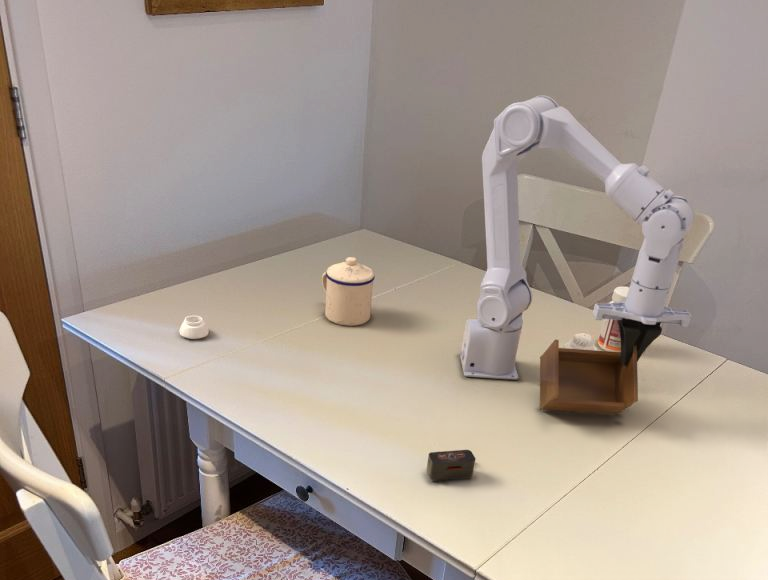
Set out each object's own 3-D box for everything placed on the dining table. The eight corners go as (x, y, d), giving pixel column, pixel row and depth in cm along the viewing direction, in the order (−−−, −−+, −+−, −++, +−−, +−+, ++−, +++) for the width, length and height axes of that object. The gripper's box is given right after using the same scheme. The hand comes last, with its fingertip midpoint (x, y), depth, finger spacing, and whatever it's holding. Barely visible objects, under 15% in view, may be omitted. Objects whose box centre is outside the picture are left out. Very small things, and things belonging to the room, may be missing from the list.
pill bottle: (636, 351, 149) (653, 295, 143) (614, 357, 146) (630, 301, 140) (612, 337, 153) (627, 283, 147) (590, 343, 150) (604, 288, 144)
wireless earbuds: (478, 478, 111) (482, 460, 109) (430, 483, 109) (433, 464, 107) (467, 459, 114) (471, 441, 112) (421, 463, 112) (423, 445, 111)
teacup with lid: (380, 319, 151) (386, 261, 145) (346, 331, 146) (349, 271, 139) (339, 297, 158) (342, 241, 151) (304, 308, 152) (306, 250, 146)
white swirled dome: (559, 374, 139) (567, 338, 135) (558, 358, 144) (566, 323, 140) (594, 379, 138) (604, 344, 134) (592, 363, 143) (601, 329, 139)
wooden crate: (618, 414, 128) (638, 400, 120) (539, 409, 128) (554, 395, 119) (617, 362, 130) (636, 345, 122) (540, 357, 130) (554, 339, 121)
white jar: (204, 342, 137) (212, 330, 141) (203, 326, 136) (211, 315, 140) (176, 338, 137) (184, 326, 141) (174, 323, 136) (183, 311, 140)
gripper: (610, 289, 113) (588, 371, 121) (707, 296, 114) (680, 378, 122) (598, 270, 119) (578, 350, 127) (691, 278, 120) (666, 356, 128)
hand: (627, 362), depth 125 cm, fingers closed, pressing on wooden crate
